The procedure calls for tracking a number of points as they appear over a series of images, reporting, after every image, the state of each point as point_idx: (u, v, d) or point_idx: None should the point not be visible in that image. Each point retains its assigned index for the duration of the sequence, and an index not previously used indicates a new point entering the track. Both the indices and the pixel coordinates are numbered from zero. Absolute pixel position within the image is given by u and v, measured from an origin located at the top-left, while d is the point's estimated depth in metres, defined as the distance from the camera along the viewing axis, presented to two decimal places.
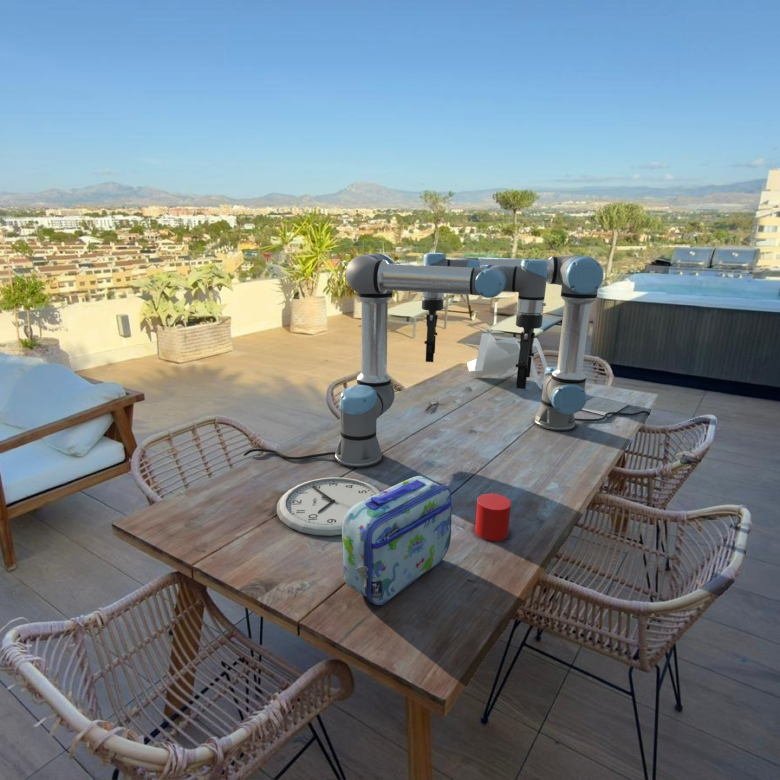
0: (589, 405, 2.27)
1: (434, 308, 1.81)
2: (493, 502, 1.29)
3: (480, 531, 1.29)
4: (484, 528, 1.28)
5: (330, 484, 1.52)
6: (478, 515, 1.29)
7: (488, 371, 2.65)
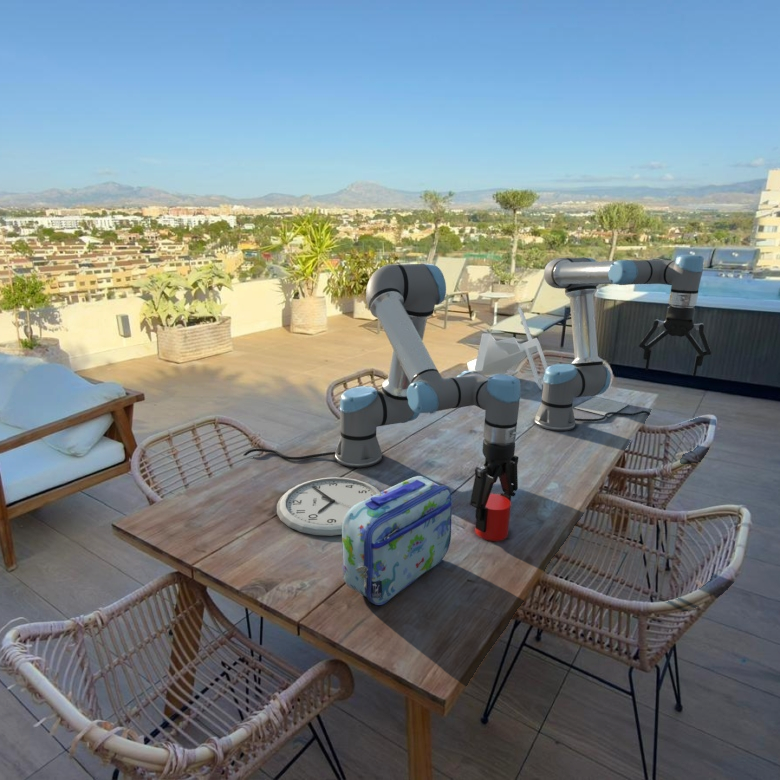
0: (589, 405, 2.27)
1: None
2: (493, 502, 1.29)
3: None
4: None
5: (330, 484, 1.52)
6: None
7: (488, 371, 2.65)
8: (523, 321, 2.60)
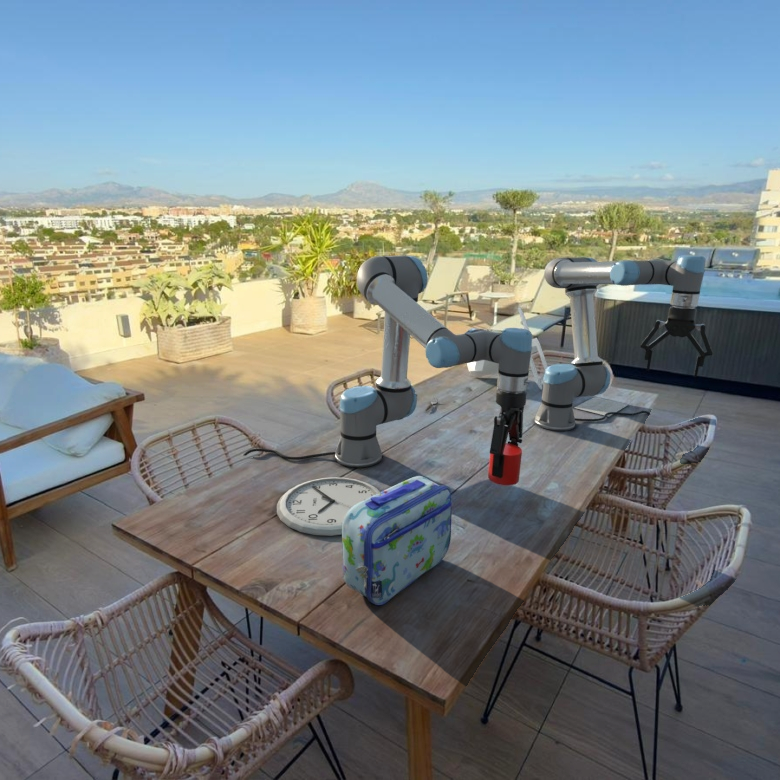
0: (589, 405, 2.27)
1: None
2: (506, 449, 1.38)
3: (496, 477, 1.37)
4: None
5: (330, 484, 1.52)
6: None
7: (488, 371, 2.65)
8: (523, 321, 2.60)
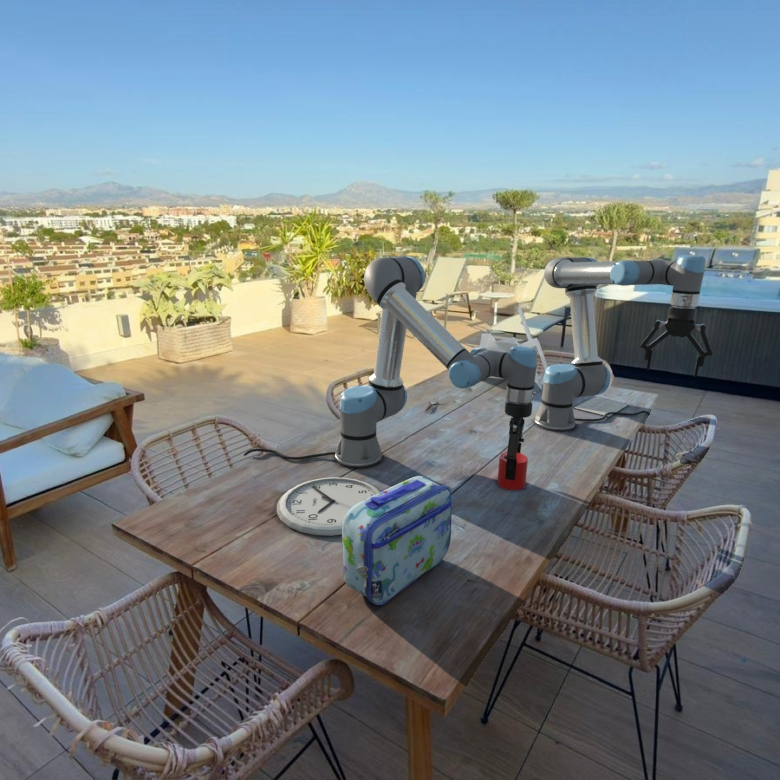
0: (589, 405, 2.27)
1: None
2: None
3: (508, 484, 1.53)
4: (513, 481, 1.52)
5: (330, 484, 1.52)
6: (505, 471, 1.52)
7: None
8: (523, 321, 2.60)
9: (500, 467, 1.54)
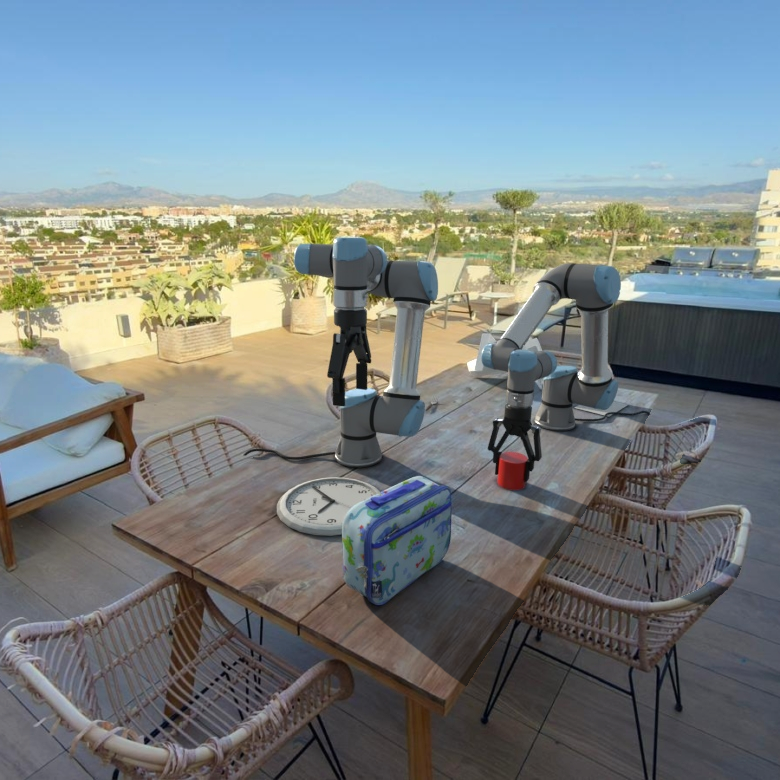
0: None
1: None
2: (514, 458, 1.54)
3: (508, 484, 1.53)
4: (513, 480, 1.52)
5: (330, 484, 1.52)
6: (505, 471, 1.52)
7: (488, 371, 2.65)
8: None
9: (500, 467, 1.54)
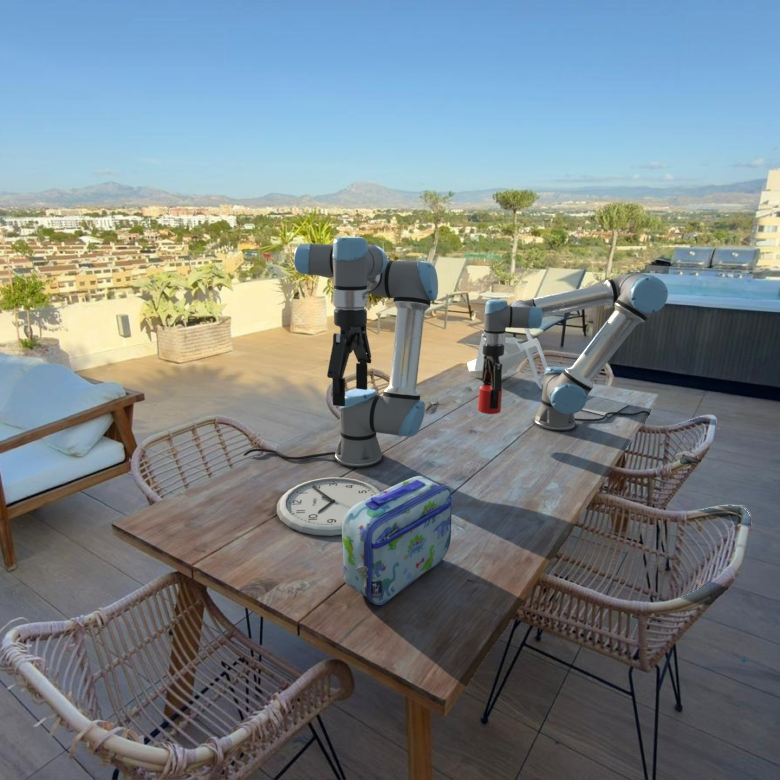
0: (589, 405, 2.27)
1: (498, 354, 1.83)
2: (489, 388, 1.90)
3: (479, 406, 1.92)
4: (481, 404, 1.90)
5: (330, 484, 1.52)
6: (479, 396, 1.92)
7: None
8: None
9: None
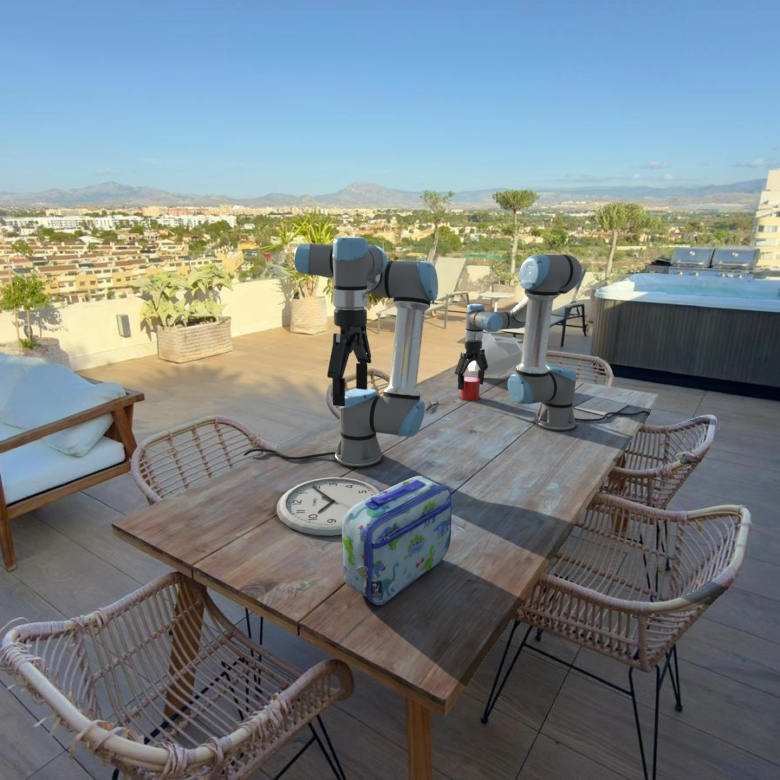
0: (589, 405, 2.27)
1: (469, 348, 2.26)
2: (469, 379, 2.33)
3: None
4: None
5: (330, 484, 1.52)
6: None
7: (488, 371, 2.65)
8: None
9: None
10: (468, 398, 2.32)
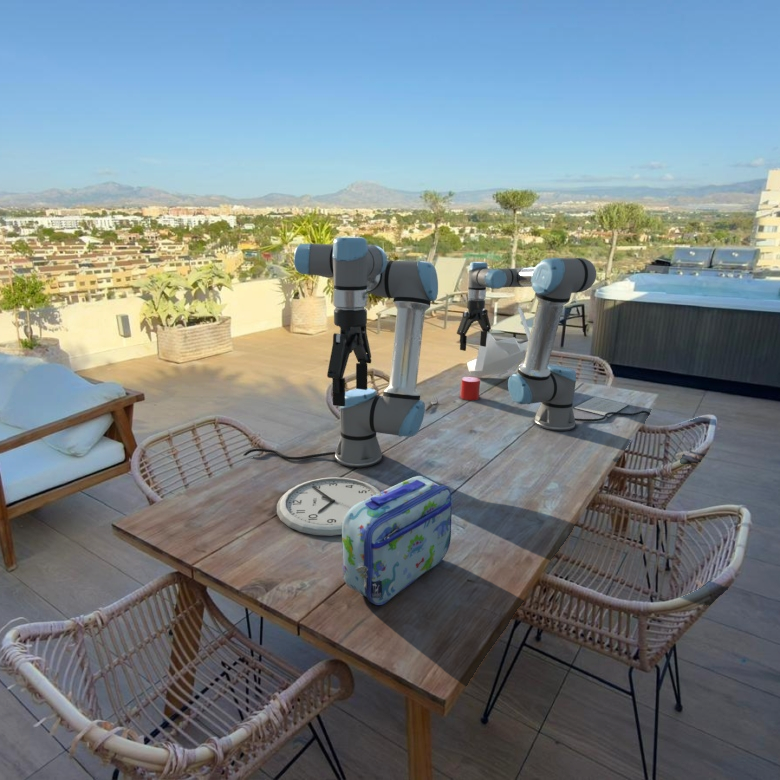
0: (589, 405, 2.27)
1: (471, 307, 2.20)
2: (469, 379, 2.33)
3: None
4: None
5: (330, 484, 1.52)
6: None
7: (488, 371, 2.65)
8: (523, 321, 2.60)
9: None
10: (468, 398, 2.32)
